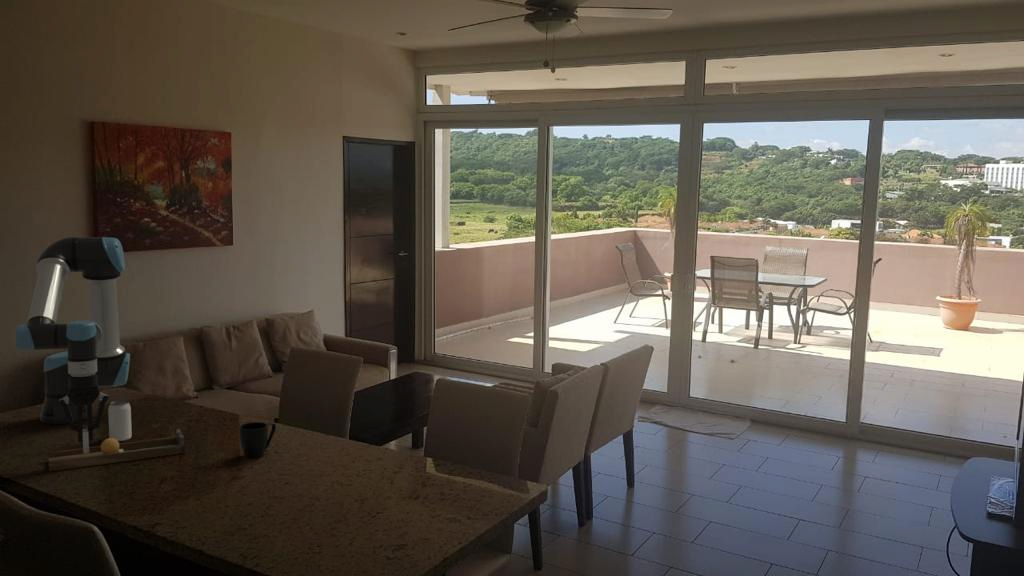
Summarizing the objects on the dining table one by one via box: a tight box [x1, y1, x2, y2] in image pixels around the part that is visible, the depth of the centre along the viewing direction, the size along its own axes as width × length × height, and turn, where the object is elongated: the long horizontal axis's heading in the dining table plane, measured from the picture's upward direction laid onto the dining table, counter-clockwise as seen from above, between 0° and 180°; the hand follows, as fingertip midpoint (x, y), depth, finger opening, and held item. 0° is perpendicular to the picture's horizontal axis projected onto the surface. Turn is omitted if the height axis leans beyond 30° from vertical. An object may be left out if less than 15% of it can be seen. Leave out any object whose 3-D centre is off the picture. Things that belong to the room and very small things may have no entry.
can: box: [107, 400, 133, 442], centre depth 253 cm, size 6×6×12 cm
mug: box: [239, 421, 277, 460], centre depth 242 cm, size 8×12×10 cm
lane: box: [48, 428, 185, 472], centre depth 237 cm, size 10×36×5 cm, turn 120°
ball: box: [100, 437, 120, 454], centre depth 235 cm, size 5×5×5 cm
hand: (86, 451), depth 232 cm, fingers closed
